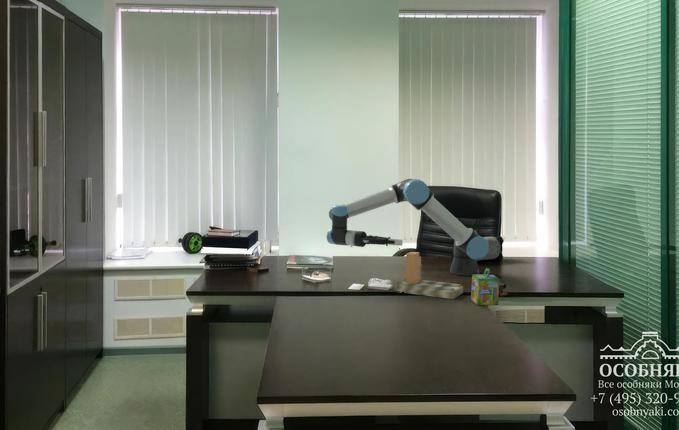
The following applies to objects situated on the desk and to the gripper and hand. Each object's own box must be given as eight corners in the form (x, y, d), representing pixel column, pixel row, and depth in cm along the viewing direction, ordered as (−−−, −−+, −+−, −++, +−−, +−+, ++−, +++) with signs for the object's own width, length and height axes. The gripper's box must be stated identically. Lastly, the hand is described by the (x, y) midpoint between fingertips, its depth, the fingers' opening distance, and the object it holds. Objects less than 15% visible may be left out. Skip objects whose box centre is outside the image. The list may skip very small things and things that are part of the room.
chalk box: (470, 300, 250) (471, 266, 249) (491, 300, 251) (492, 266, 250) (477, 305, 241) (478, 270, 240) (498, 305, 242) (500, 270, 240)
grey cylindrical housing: (450, 261, 346) (450, 236, 344) (487, 257, 358) (488, 233, 357) (466, 265, 332) (466, 239, 331) (504, 261, 345) (505, 236, 344)
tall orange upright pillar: (405, 283, 267) (406, 253, 266) (410, 281, 272) (411, 251, 271) (413, 284, 265) (414, 254, 264) (418, 282, 270) (419, 252, 269)
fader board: (394, 291, 266) (394, 282, 266) (405, 286, 278) (405, 277, 277) (453, 299, 253) (453, 289, 252) (462, 293, 264) (462, 283, 264)
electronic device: (502, 297, 256) (503, 280, 255) (483, 294, 262) (483, 277, 262) (507, 296, 259) (508, 279, 258) (488, 292, 266) (489, 276, 265)
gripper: (362, 244, 287) (407, 248, 276) (350, 248, 276) (395, 252, 264) (363, 229, 286) (407, 233, 275) (350, 232, 275) (396, 236, 263)
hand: (401, 242), depth 270 cm, fingers closed
